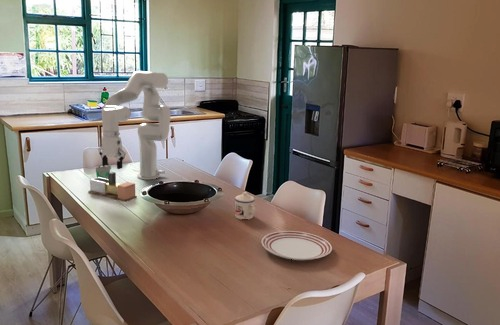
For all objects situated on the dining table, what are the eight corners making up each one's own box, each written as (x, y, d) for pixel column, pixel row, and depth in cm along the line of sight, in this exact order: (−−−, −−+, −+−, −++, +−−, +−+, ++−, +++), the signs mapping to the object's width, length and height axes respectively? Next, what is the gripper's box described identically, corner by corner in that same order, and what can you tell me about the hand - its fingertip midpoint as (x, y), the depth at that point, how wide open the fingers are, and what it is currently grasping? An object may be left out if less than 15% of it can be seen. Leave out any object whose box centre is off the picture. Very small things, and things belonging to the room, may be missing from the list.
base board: (88, 192, 241) (88, 191, 241) (99, 189, 248) (99, 187, 248) (125, 202, 230) (125, 200, 230) (136, 197, 237) (136, 195, 237)
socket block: (117, 197, 233) (117, 185, 231) (127, 194, 239) (127, 181, 237) (125, 199, 231) (125, 187, 229) (135, 196, 237) (135, 183, 235)
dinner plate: (287, 231, 203) (287, 224, 202) (344, 250, 186) (344, 242, 186) (246, 250, 182) (247, 242, 182) (306, 274, 166) (307, 265, 165)
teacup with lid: (230, 215, 219) (231, 191, 216) (245, 211, 224) (246, 188, 221) (246, 223, 209) (247, 198, 207) (261, 219, 215) (263, 195, 212)
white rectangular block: (90, 190, 242) (90, 179, 240) (99, 187, 247) (98, 176, 245) (105, 194, 237) (104, 182, 236) (113, 191, 242) (113, 180, 241)
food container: (107, 186, 254) (107, 168, 251) (96, 185, 254) (95, 167, 251) (114, 180, 265) (114, 162, 263) (103, 179, 266) (103, 162, 263)
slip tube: (105, 191, 238) (104, 172, 236) (110, 189, 242) (110, 170, 239) (125, 196, 232) (125, 177, 230) (131, 194, 236) (131, 175, 233)
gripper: (129, 134, 231) (130, 167, 236) (103, 130, 238) (105, 162, 243) (118, 137, 224) (120, 171, 229) (92, 132, 232) (94, 165, 237)
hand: (112, 166), depth 236 cm, fingers open, 9 cm apart
